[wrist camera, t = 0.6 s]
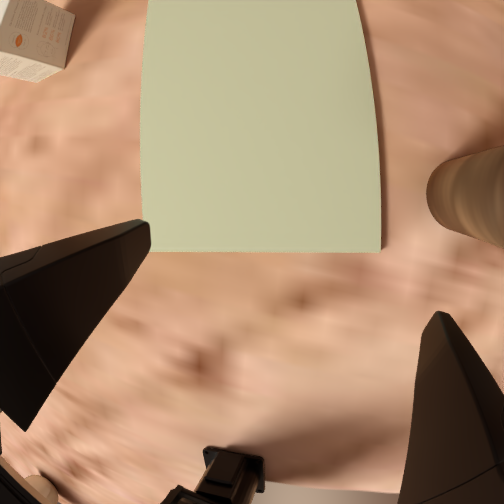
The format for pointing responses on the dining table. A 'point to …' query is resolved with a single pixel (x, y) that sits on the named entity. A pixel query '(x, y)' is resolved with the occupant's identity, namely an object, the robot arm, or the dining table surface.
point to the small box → (33, 39)
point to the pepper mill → (470, 195)
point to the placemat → (258, 128)
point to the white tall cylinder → (43, 487)
